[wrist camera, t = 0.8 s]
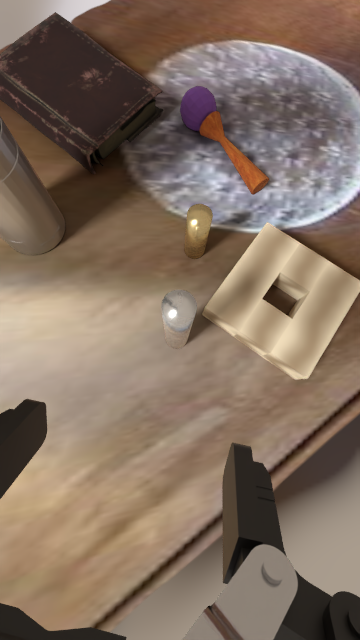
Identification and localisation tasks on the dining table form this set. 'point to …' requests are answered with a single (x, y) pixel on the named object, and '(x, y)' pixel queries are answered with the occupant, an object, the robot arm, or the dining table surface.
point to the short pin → (197, 230)
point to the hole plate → (297, 281)
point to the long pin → (178, 317)
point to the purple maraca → (218, 133)
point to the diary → (75, 90)
